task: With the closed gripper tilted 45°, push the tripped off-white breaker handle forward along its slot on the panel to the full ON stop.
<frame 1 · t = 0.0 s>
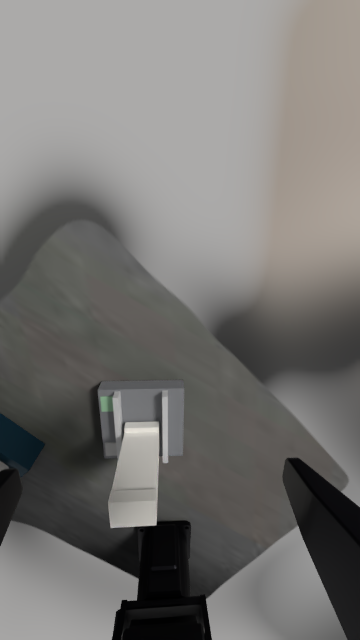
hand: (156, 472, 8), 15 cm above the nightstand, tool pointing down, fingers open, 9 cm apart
breaker panel: (144, 414, 25), on the nightstand
breaker handle: (138, 467, 20), point 5 cm above the nightstand, slide at 1.0 cm
watch: (11, 440, 25), on the nightstand
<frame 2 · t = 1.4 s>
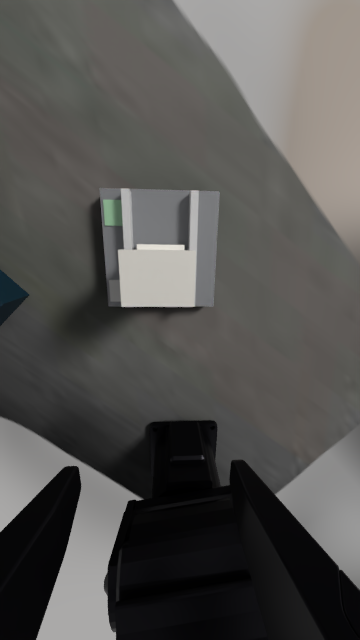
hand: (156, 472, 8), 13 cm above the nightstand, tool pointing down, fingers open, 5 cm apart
breaker panel: (161, 251, 18), on the nightstand
breaker handle: (159, 271, 14), point 5 cm above the nightstand, slide at 1.0 cm
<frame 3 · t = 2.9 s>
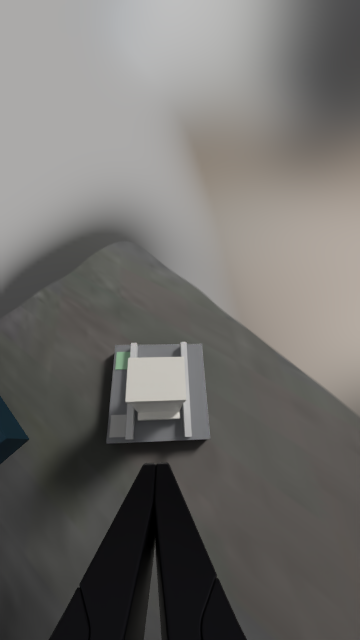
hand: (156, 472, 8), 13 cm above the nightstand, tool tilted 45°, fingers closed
breaker panel: (159, 391, 21), on the nightstand
breaker handle: (157, 391, 16), point 5 cm above the nightstand, slide at 1.0 cm
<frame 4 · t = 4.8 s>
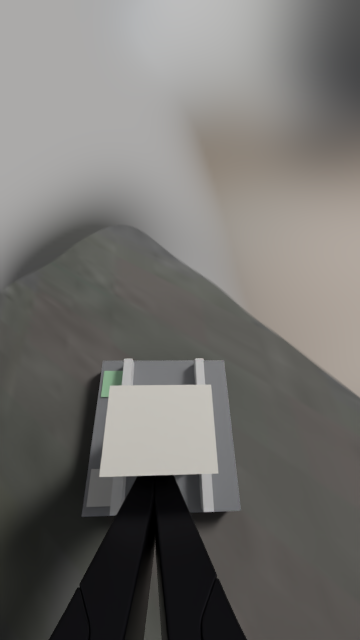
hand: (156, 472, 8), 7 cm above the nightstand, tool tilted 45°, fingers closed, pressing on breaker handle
breaker panel: (163, 428, 15), on the nightstand
breaker handle: (162, 432, 10), point 5 cm above the nightstand, slide at 1.5 cm, touching gripper
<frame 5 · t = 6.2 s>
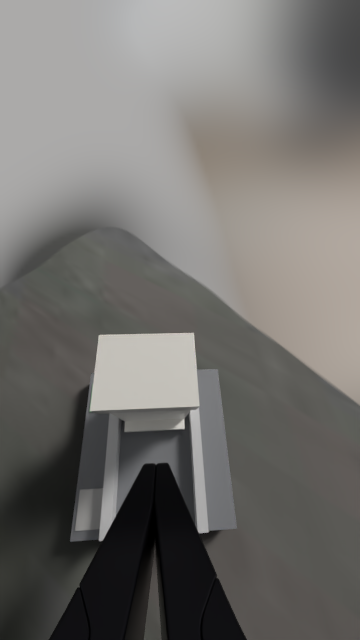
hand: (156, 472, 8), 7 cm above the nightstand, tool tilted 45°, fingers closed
breaker panel: (156, 441, 15), on the nightstand
breaker handle: (152, 390, 11), point 5 cm above the nightstand, slide at 4.0 cm
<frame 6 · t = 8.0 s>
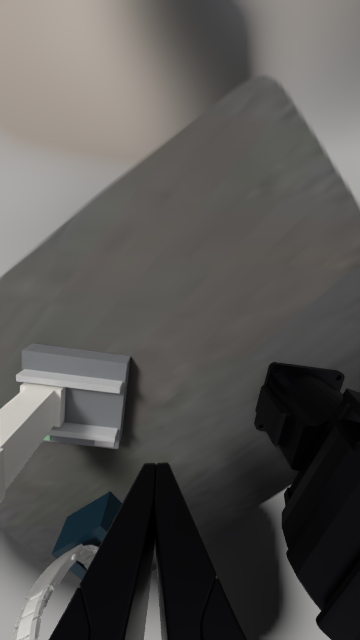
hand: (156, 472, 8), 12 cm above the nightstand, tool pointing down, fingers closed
breaker panel: (80, 392, 21), on the nightstand
breaker handle: (16, 433, 15), point 5 cm above the nightstand, slide at 4.0 cm
watch: (103, 516, 24), on the nightstand
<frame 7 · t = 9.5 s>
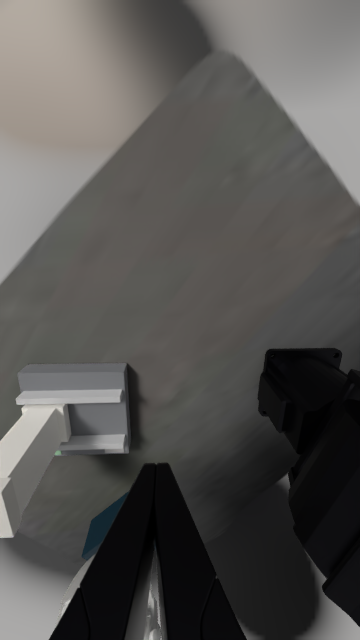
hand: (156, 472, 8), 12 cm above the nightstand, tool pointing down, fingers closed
breaker panel: (83, 404, 21), on the nightstand
breaker handle: (24, 456, 16), point 5 cm above the nightstand, slide at 4.0 cm
watch: (126, 514, 25), on the nightstand
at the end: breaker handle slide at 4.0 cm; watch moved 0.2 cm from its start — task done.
